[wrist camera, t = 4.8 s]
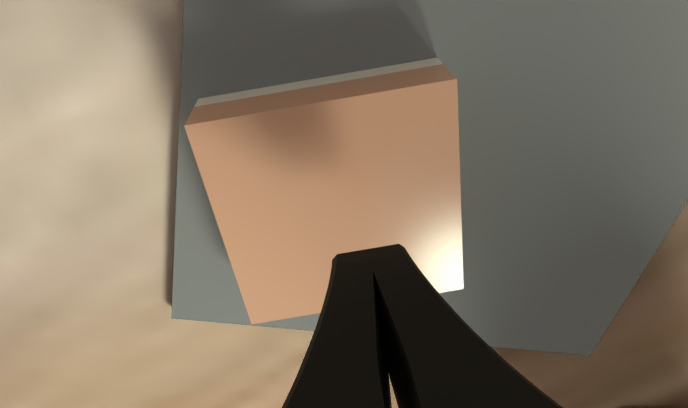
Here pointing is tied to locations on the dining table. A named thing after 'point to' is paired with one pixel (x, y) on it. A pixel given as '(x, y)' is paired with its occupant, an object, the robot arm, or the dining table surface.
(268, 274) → the terracotta tile
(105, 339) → the dining table surface
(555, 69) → the felt mat
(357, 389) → the robot arm
